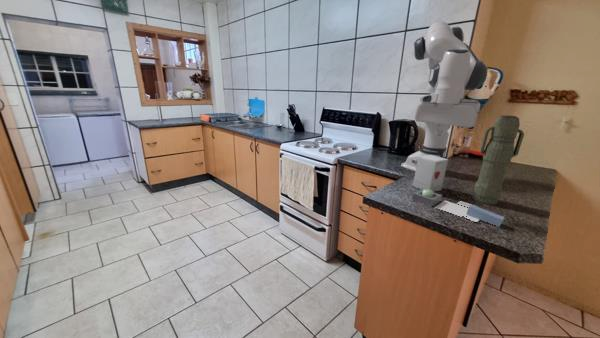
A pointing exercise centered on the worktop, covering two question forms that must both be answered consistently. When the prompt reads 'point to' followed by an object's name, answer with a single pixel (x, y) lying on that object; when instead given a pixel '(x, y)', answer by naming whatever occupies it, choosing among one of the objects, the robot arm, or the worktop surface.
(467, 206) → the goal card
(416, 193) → the button housing
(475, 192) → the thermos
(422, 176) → the supplement box
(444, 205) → the white flat plate
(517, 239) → the worktop surface
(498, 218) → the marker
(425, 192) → the button
